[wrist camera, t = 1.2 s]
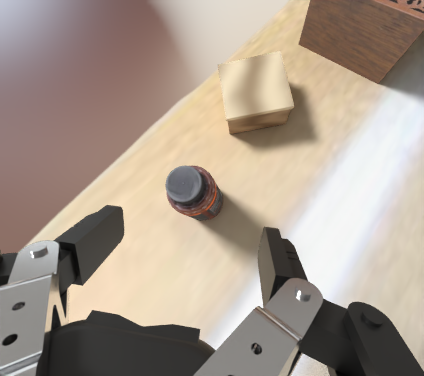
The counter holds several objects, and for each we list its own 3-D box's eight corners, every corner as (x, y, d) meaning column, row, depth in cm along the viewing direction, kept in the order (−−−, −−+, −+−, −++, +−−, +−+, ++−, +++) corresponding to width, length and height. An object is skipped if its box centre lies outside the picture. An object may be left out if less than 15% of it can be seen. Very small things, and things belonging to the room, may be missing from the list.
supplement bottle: (222, 181, 33) (210, 153, 22) (224, 219, 32) (214, 209, 21) (185, 184, 34) (156, 159, 23) (186, 222, 33) (156, 213, 22)
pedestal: (275, 75, 36) (280, 50, 31) (287, 124, 34) (294, 105, 29) (221, 87, 37) (217, 64, 32) (228, 135, 35) (226, 119, 30)
